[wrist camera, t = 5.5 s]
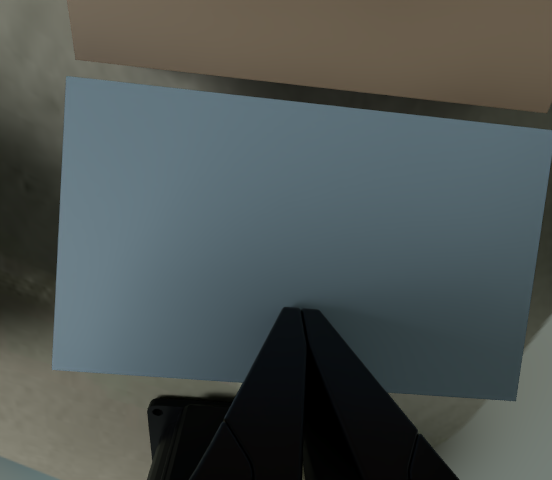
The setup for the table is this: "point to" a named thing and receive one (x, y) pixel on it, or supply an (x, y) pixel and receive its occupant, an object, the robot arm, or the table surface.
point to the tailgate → (293, 236)
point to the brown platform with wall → (336, 44)
